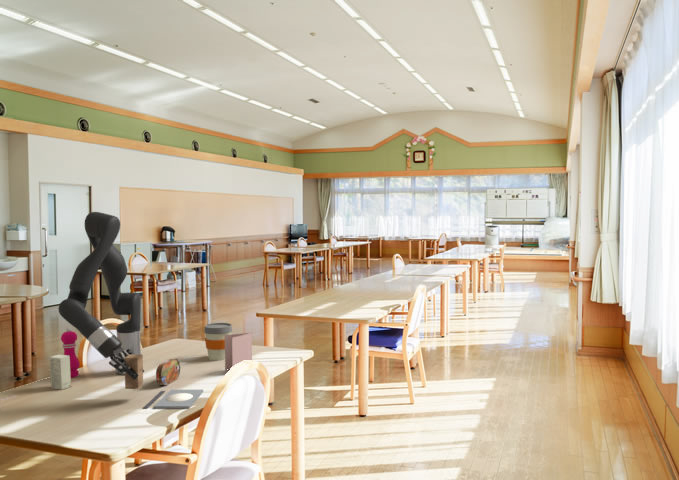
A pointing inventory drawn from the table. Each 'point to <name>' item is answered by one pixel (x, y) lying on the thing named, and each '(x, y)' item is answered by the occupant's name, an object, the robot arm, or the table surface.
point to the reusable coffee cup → (216, 339)
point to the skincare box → (60, 371)
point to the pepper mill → (71, 350)
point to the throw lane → (175, 399)
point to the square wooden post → (137, 366)
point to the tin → (168, 372)
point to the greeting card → (237, 349)
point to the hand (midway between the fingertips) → (139, 375)
